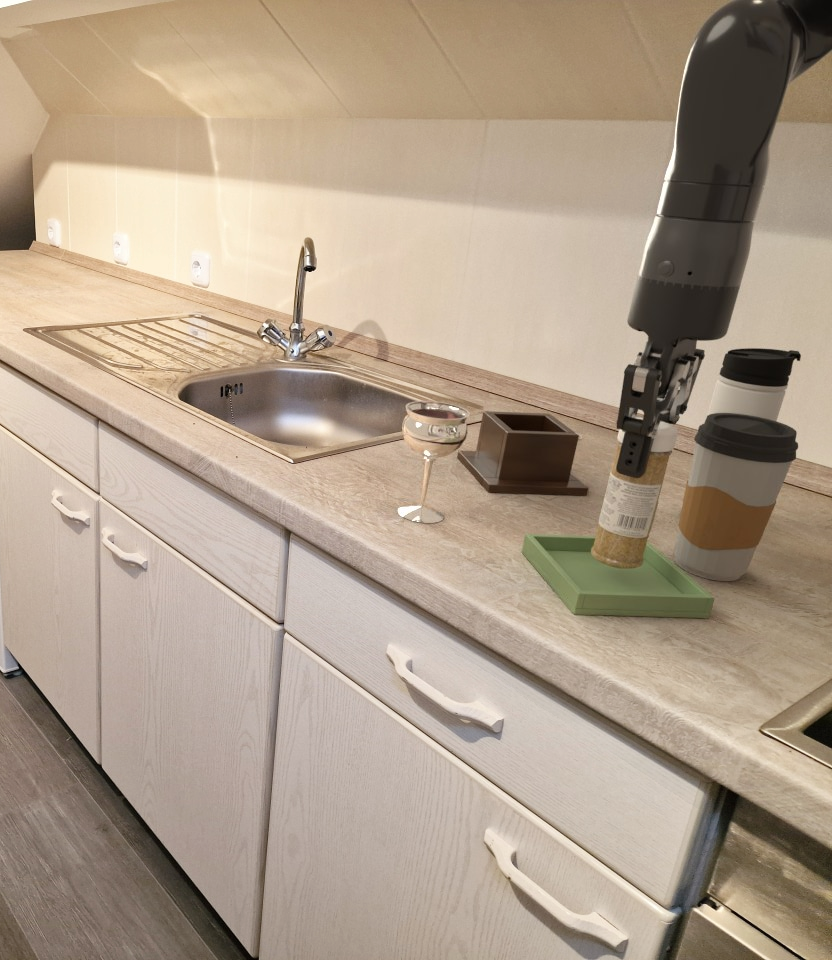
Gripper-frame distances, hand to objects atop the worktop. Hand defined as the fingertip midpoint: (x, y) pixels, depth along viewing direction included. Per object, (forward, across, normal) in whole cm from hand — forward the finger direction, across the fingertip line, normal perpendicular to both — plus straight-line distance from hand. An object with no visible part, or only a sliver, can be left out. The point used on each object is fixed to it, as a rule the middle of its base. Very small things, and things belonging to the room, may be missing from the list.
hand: (639, 467), depth 76 cm
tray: (+12, 0, 0) cm, 12 cm away
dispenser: (+12, +21, +18) cm, 30 cm away
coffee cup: (+12, +11, -6) cm, 17 cm away
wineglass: (+12, +1, +21) cm, 24 cm away
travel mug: (+12, +24, -3) cm, 27 cm away
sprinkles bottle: (+10, 0, 0) cm, 10 cm away
